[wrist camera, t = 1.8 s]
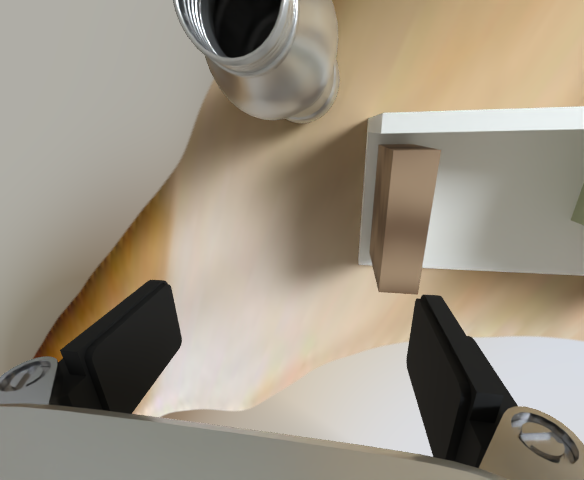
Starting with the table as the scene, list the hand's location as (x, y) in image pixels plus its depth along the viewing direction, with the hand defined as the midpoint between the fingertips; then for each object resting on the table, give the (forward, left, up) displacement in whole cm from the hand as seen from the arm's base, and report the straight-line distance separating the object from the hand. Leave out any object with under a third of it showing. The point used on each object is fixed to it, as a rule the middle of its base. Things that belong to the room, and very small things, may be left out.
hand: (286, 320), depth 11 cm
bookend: (0, +7, -20) cm, 21 cm away
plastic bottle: (-11, -2, -21) cm, 24 cm away
